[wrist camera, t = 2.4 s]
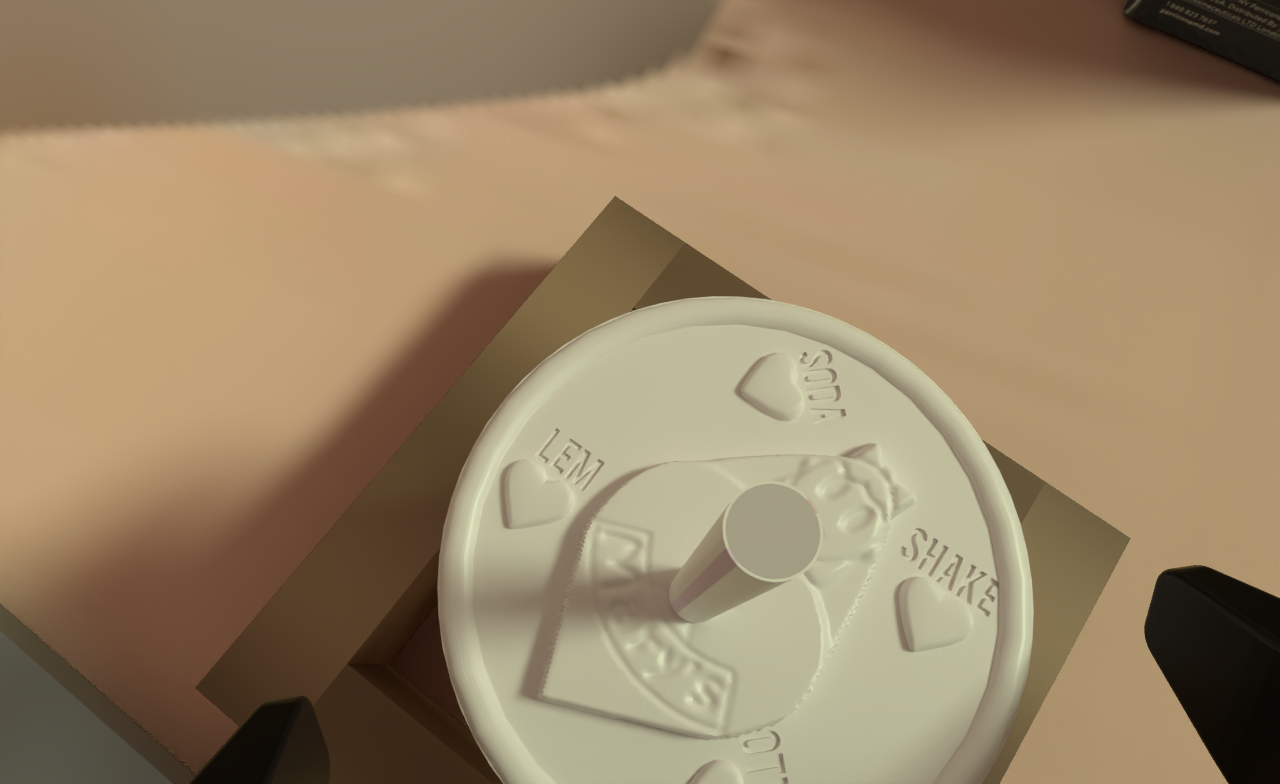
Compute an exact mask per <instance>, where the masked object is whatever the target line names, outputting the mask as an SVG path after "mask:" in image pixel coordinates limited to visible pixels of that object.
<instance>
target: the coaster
mask: <svg viewBox="0 0 1280 784" xmlns="http://www.w3.org/2000/svg"><path fill="white" fill-rule="evenodd" d="M194 777H195V775H194V774H193V773H192V772H191V771H190V770H189V769H188V768H186V767H185V766H184V765H183V764H182V763H181V762H180V761H178V760H177V759H176V758H175V757H174V756H173V755H172V754H170V753H169V752H168V751H167V750H166V749H165V748H164V747H163V746H161V745H160V744H159V743H158V742H157V741H156V740H155V739H153V738H152V737H151V736H150V735H149V734H148V733H147V732H145V731H144V730H143V729H142V728H141V727H140V726H139V725H137V724H136V723H135V722H134V721H133V720H132V719H131V718H130V717H128V716H127V715H126V714H125V713H124V712H123V711H122V710H120V709H119V708H118V707H117V706H116V705H115V704H114V703H112V702H111V701H110V700H109V699H108V698H107V697H106V696H104V695H103V694H102V693H101V692H100V691H99V690H98V689H97V688H95V687H94V686H93V685H92V684H91V683H90V682H89V681H87V680H86V679H85V678H84V677H83V676H82V675H81V674H79V673H78V672H77V671H76V670H75V669H74V668H73V667H71V666H70V665H69V664H68V663H67V662H66V661H65V660H64V659H62V658H61V657H60V656H59V655H58V654H57V653H56V652H54V651H53V650H52V649H51V648H50V647H49V646H48V645H46V644H45V643H44V642H43V641H42V640H41V639H40V638H39V637H37V636H36V635H35V634H34V633H33V632H32V631H31V630H29V629H28V628H27V627H26V626H25V625H24V624H23V623H21V622H20V621H19V620H18V619H17V618H16V617H15V616H13V615H12V614H11V613H10V612H9V611H8V610H7V609H6V608H4V607H3V606H2V605H1V604H0V784H188V783H189V782H190V781H191V780H192V779H193V778H194Z"/></svg>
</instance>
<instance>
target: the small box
mask: <svg viewBox="0 0 1280 784" xmlns="http://www.w3.org/2000/svg"><path fill="white" fill-rule="evenodd" d="M1124 12H1125V13H1126V14H1127V15H1128V16H1129V17H1130V18H1132V19H1135V20H1137V21H1139V22H1142V23H1144V24H1145V25H1150V26H1153V27H1154V28H1156V29H1160V30H1163V31H1165V32H1167V33H1169V34H1172V35H1174V36H1176V37H1179V38H1181V39H1183V40H1186V41H1188V42H1191V43H1193V44H1196V45H1199V46H1201V47H1203V48H1206V49H1208V50H1210V51H1212V52H1215V53H1217V54H1219V55H1221V56H1224V57H1226V58H1228V59H1231V60H1233V61H1236V62H1238V63H1240V64H1242V65H1244V66H1247V67H1249V68H1251V69H1254V70H1256V71H1258V72H1261V73H1263V74H1266V75H1267V76H1269V77H1271V78H1272V79H1274V80H1278V81H1280V0H1129V1H1128V2H1127V4H1126V6H1125V8H1124Z"/></svg>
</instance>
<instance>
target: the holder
mask: <svg viewBox="0 0 1280 784" xmlns="http://www.w3.org/2000/svg"><path fill="white" fill-rule="evenodd" d="M711 296H730V297H749V298H759V299H767V300H771V299H769V298H768V297H766V296H765V295H763V294H762V293H760V292H759V291H757V290H756V289H754V288H753V287H751V286H750V285H748V284H747V283H745V282H744V281H742V280H741V279H739V278H738V277H736V276H735V275H733V274H732V273H730V272H729V271H727V270H726V269H724V268H723V267H721V266H720V265H718V264H717V263H715V262H714V261H712V260H711V259H709V258H708V257H706V256H705V255H703V254H702V253H700V252H699V251H697V250H696V249H694V248H693V247H691V246H690V245H688V244H687V243H685V242H684V241H682V240H681V239H679V238H677V237H676V236H674V235H673V234H671V233H670V232H668V231H667V230H665V229H664V228H662V227H661V226H659V225H658V224H656V223H655V222H653V221H652V220H650V219H649V218H647V217H646V216H644V215H643V214H641V213H640V212H638V211H637V210H635V209H634V208H632V207H631V206H629V205H628V204H626V203H625V202H623V201H622V200H620V199H619V198H617V197H616V196H615V197H614V198H613V199H612V200H611V202H610V203H609V204H608V205H607V206H606V207H605V209H604V210H603V211H602V212H601V213H600V214H599V216H598V217H597V218H596V219H595V220H594V221H593V223H592V224H591V225H590V226H589V227H588V228H587V230H586V231H585V232H584V233H583V234H582V235H581V237H580V238H579V239H578V240H577V241H576V243H575V244H574V245H573V246H572V247H571V248H570V250H569V251H568V252H567V253H566V254H565V255H564V257H563V258H562V259H561V260H560V261H559V262H558V264H557V265H556V266H555V267H554V268H553V269H552V271H551V272H550V273H549V274H548V275H547V276H546V278H545V279H544V280H543V281H542V282H541V283H540V285H539V286H538V287H537V288H536V289H535V291H534V292H533V293H532V294H531V295H530V296H529V298H528V299H527V300H526V301H525V302H524V303H523V305H522V306H521V307H520V308H519V309H518V310H517V312H516V313H515V314H514V315H513V316H512V317H511V319H510V320H509V321H508V322H507V323H506V324H505V326H504V327H503V328H502V329H501V330H500V332H499V333H498V334H497V335H496V336H495V337H494V339H493V340H492V341H491V342H490V343H489V344H488V346H487V347H486V348H485V349H484V350H483V351H482V353H481V354H480V355H479V356H478V357H477V358H476V360H475V361H474V362H473V363H472V364H471V365H470V367H469V368H468V369H467V370H466V371H465V373H464V374H463V375H462V376H461V377H460V378H459V380H458V381H457V382H456V383H455V384H454V385H453V387H452V388H451V389H450V390H449V391H448V392H447V394H446V395H445V396H444V397H443V398H442V399H441V401H440V402H439V403H438V404H437V405H436V406H435V408H434V409H433V410H432V411H431V412H430V413H429V415H428V416H427V417H426V418H425V419H424V421H423V422H422V423H421V424H420V425H419V426H418V428H417V429H416V430H415V431H414V432H413V433H412V435H411V436H410V437H409V438H408V439H407V440H406V442H405V443H404V444H403V445H402V446H401V447H400V449H399V450H398V451H397V452H396V453H395V454H394V456H393V457H392V458H391V459H390V460H389V462H388V463H387V464H386V465H385V466H384V467H383V469H382V470H381V471H380V472H379V473H378V474H377V476H376V477H375V478H374V479H373V480H372V481H371V483H370V484H369V485H368V486H367V487H366V488H365V490H364V491H363V492H362V493H361V494H360V495H359V497H358V498H357V499H356V500H355V501H354V503H353V504H352V505H351V506H350V507H349V508H348V510H347V511H346V512H345V513H344V514H343V515H342V517H341V518H340V519H339V520H338V521H337V522H336V524H335V525H334V526H333V527H332V528H331V529H330V531H329V532H328V533H327V534H326V535H325V536H324V538H323V539H322V540H321V541H320V542H319V544H318V545H317V546H316V547H315V548H314V549H313V551H312V552H311V553H310V554H309V555H308V556H307V558H306V559H305V560H304V561H303V562H302V563H301V565H300V566H299V567H298V568H297V569H296V570H295V572H294V573H293V574H292V575H291V576H290V577H289V579H288V580H287V581H286V582H285V583H284V584H283V586H282V587H281V588H280V589H279V590H278V592H277V593H276V594H275V595H274V596H273V597H272V599H271V600H270V601H269V602H268V603H267V604H266V606H265V607H264V608H263V609H262V610H261V611H260V613H259V614H258V615H257V616H256V617H255V618H254V620H253V621H252V622H251V623H250V624H249V625H248V627H247V628H246V629H245V630H244V631H243V633H242V634H241V635H240V636H239V637H238V638H237V640H236V641H235V642H234V643H233V644H232V645H231V647H230V648H229V649H228V650H227V651H226V652H225V654H224V655H223V656H222V657H221V658H220V659H219V661H218V662H217V663H216V664H215V665H214V666H213V668H212V669H211V670H210V671H209V672H208V674H207V675H206V676H205V677H204V678H203V679H202V681H201V682H200V683H199V684H198V685H197V686H196V689H197V690H198V691H199V692H200V693H201V694H203V695H204V696H205V697H206V698H207V699H208V700H210V701H211V702H212V703H213V704H214V705H215V706H217V707H218V708H219V709H220V710H221V711H222V712H224V713H225V714H226V715H227V716H228V717H229V718H231V719H232V720H233V721H234V722H235V723H236V724H238V725H239V726H241V725H242V724H243V723H244V722H245V720H246V719H247V718H248V717H249V716H250V715H251V714H252V713H253V712H254V710H255V709H256V708H257V707H258V706H259V705H261V704H262V703H263V702H265V701H268V700H272V699H278V698H285V697H292V696H299V695H301V696H305V697H307V698H308V699H309V700H310V702H311V703H312V706H313V708H314V711H315V714H316V717H317V720H318V723H319V725H320V728H321V731H322V734H323V737H324V740H325V742H326V745H327V748H328V752H329V757H330V781H329V784H503V783H502V781H501V780H500V778H499V777H498V776H497V774H496V773H495V772H494V770H493V769H492V767H491V766H490V765H489V763H488V761H487V759H486V758H485V756H484V754H483V753H482V751H481V749H480V747H479V746H478V744H477V742H476V741H475V739H474V737H473V735H472V733H471V731H470V730H469V729H468V728H466V727H465V726H464V725H463V724H462V723H460V722H459V721H458V720H457V719H455V718H454V717H453V716H452V715H450V714H449V713H448V712H447V711H445V710H444V709H443V708H442V707H441V706H439V705H438V704H437V703H436V702H434V701H433V700H432V699H431V698H429V697H428V696H427V695H426V694H425V693H423V692H422V691H421V690H420V689H418V688H417V687H416V686H415V685H413V684H412V683H411V682H410V681H409V680H407V679H406V678H405V677H404V676H402V675H401V674H400V673H399V672H397V671H396V670H395V669H394V668H393V667H391V666H390V665H389V664H390V663H391V662H392V660H393V659H394V658H395V657H396V655H397V654H398V653H399V652H400V650H401V649H402V648H403V646H404V645H405V644H406V643H407V641H408V640H409V639H410V638H411V636H412V635H413V634H414V632H415V631H416V630H417V629H418V627H419V626H420V625H421V624H422V622H423V621H424V620H425V619H426V617H427V616H428V615H429V613H430V612H431V611H432V610H433V608H434V607H435V606H436V605H437V603H438V589H437V584H438V568H439V554H440V548H441V542H442V535H443V529H444V524H445V520H446V517H447V513H448V509H449V505H450V501H451V498H452V495H453V492H454V490H455V487H456V484H457V481H458V479H459V476H460V473H461V471H462V468H463V466H464V464H465V462H466V460H467V458H468V456H469V454H470V452H471V450H472V448H473V446H474V444H475V442H476V441H477V439H478V437H479V436H480V434H481V432H482V431H483V429H484V427H485V426H486V424H487V423H488V421H489V420H490V418H491V417H492V416H493V414H494V413H495V412H496V410H497V409H498V408H499V406H500V405H501V404H502V402H503V401H504V400H505V398H506V397H507V396H508V395H509V394H510V393H511V392H512V391H513V390H514V388H515V387H516V386H517V385H518V384H519V383H520V382H521V381H522V380H523V379H524V378H525V377H526V376H527V375H528V374H529V373H530V372H531V371H532V370H534V369H535V368H536V367H537V366H538V365H539V364H540V363H541V362H542V361H544V360H545V359H546V358H548V357H549V356H550V355H552V354H553V353H554V352H556V351H557V350H558V349H560V348H561V347H562V346H564V345H565V344H567V343H568V342H570V341H572V340H573V339H575V338H576V337H578V336H580V335H581V334H583V333H585V332H586V331H588V330H590V329H592V328H594V327H596V326H598V325H600V324H602V323H604V322H607V321H609V320H611V319H613V318H616V317H619V316H621V315H624V314H626V313H629V312H632V311H634V310H638V309H641V308H645V307H649V306H652V305H656V304H659V303H665V302H670V301H676V300H681V299H688V298H699V297H711ZM981 440H982V439H981ZM982 441H983V440H982ZM983 442H984V444H985V445H986V447H987V449H988V451H989V453H990V454H991V456H992V458H993V460H994V462H995V463H996V465H997V467H998V469H999V471H1000V473H1001V475H1002V477H1003V479H1004V482H1005V484H1006V486H1007V488H1008V491H1009V493H1010V495H1011V498H1012V500H1013V503H1014V506H1015V509H1016V512H1017V515H1018V518H1019V521H1020V524H1021V528H1022V532H1023V536H1024V540H1025V544H1026V548H1027V552H1028V559H1029V565H1030V572H1031V578H1032V591H1033V609H1034V614H1033V639H1032V648H1031V655H1030V662H1029V670H1028V674H1027V679H1026V683H1025V687H1024V691H1023V695H1022V699H1021V702H1020V705H1019V708H1018V711H1017V714H1016V717H1015V720H1014V722H1013V725H1012V728H1011V731H1010V733H1009V735H1008V737H1007V739H1006V741H1005V743H1004V745H1003V748H1002V750H1001V752H1000V754H999V756H998V758H997V760H996V761H995V763H994V765H993V766H992V768H991V770H990V771H989V773H988V774H987V776H986V778H985V779H984V781H983V783H982V784H1000V782H1001V780H1002V778H1003V776H1004V774H1005V772H1006V771H1007V769H1008V767H1009V765H1010V763H1011V761H1012V759H1013V758H1014V756H1015V754H1016V752H1017V750H1018V748H1019V746H1020V744H1021V743H1022V741H1023V739H1024V737H1025V735H1026V733H1027V731H1028V729H1029V728H1030V726H1031V724H1032V722H1033V720H1034V718H1035V716H1036V714H1037V713H1038V711H1039V709H1040V707H1041V705H1042V703H1043V701H1044V699H1045V698H1046V696H1047V694H1048V692H1049V690H1050V688H1051V686H1052V684H1053V683H1054V681H1055V679H1056V677H1057V675H1058V673H1059V671H1060V669H1061V668H1062V666H1063V664H1064V662H1065V660H1066V658H1067V656H1068V654H1069V653H1070V651H1071V649H1072V647H1073V645H1074V643H1075V641H1076V639H1077V638H1078V636H1079V634H1080V632H1081V630H1082V628H1083V626H1084V625H1085V623H1086V621H1087V619H1088V617H1089V615H1090V613H1091V611H1092V610H1093V608H1094V606H1095V604H1096V602H1097V600H1098V598H1099V596H1100V595H1101V593H1102V591H1103V589H1104V587H1105V585H1106V583H1107V581H1108V580H1109V578H1110V576H1111V574H1112V572H1113V570H1114V568H1115V566H1116V565H1117V563H1118V561H1119V559H1120V557H1121V555H1122V553H1123V551H1124V550H1125V548H1126V546H1127V544H1128V542H1129V540H1130V538H1129V537H1128V536H1126V535H1125V534H1123V533H1122V532H1120V531H1119V530H1117V529H1116V528H1114V527H1113V526H1111V525H1110V524H1108V523H1107V522H1105V521H1104V520H1102V519H1101V518H1099V517H1098V516H1096V515H1094V514H1093V513H1091V512H1090V511H1088V510H1087V509H1085V508H1084V507H1082V506H1081V505H1079V504H1078V503H1076V502H1075V501H1073V500H1072V499H1070V498H1069V497H1067V496H1066V495H1064V494H1063V493H1061V492H1060V491H1058V490H1057V489H1055V488H1054V487H1052V486H1051V485H1049V484H1048V483H1046V482H1045V481H1043V480H1042V479H1040V478H1039V477H1037V476H1036V475H1034V474H1033V473H1031V472H1030V471H1028V470H1027V469H1025V468H1024V467H1022V466H1021V465H1019V464H1018V463H1016V462H1015V461H1013V460H1012V459H1010V458H1009V457H1007V456H1006V455H1004V454H1003V453H1001V452H1000V451H998V450H997V449H995V448H994V447H992V446H991V445H989V444H988V443H986V442H985V441H983Z"/></svg>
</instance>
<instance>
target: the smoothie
mask: <svg viewBox="0 0 1280 784" xmlns="http://www.w3.org/2000/svg"><path fill="white" fill-rule="evenodd" d="M437 589H438V617H439V624H440V632H441V639H442V646H443V651H444V655H445V659H446V664H447V668H448V672H449V677H450V680H451V683H452V686H453V689H454V692H455V694H456V697H457V700H458V703H459V706H460V709H461V711H462V713H463V715H464V717H465V720H466V722H467V724H468V726H469V728H470V731H471V733H472V735H473V737H474V739H475V741H476V742H477V744H478V746H479V747H480V749H481V751H482V753H483V754H484V756H485V758H486V759H487V761H488V763H489V765H490V766H491V767H492V769H493V770H494V772H495V773H496V774H497V776H498V777H499V778H500V780H501V781H502V783H503V784H982V783H983V781H984V779H985V778H986V776H987V774H988V773H989V771H990V770H991V768H992V766H993V765H994V763H995V761H996V760H997V758H998V756H999V754H1000V752H1001V750H1002V748H1003V745H1004V743H1005V741H1006V739H1007V737H1008V735H1009V733H1010V731H1011V728H1012V725H1013V722H1014V720H1015V717H1016V714H1017V711H1018V708H1019V705H1020V702H1021V699H1022V695H1023V691H1024V687H1025V683H1026V679H1027V674H1028V670H1029V662H1030V655H1031V648H1032V639H1033V614H1034V609H1033V591H1032V578H1031V572H1030V565H1029V559H1028V552H1027V548H1026V544H1025V540H1024V536H1023V532H1022V528H1021V524H1020V521H1019V518H1018V515H1017V512H1016V509H1015V506H1014V503H1013V500H1012V498H1011V495H1010V493H1009V491H1008V488H1007V486H1006V484H1005V482H1004V479H1003V477H1002V475H1001V473H1000V471H999V469H998V467H997V465H996V463H995V462H994V460H993V458H992V456H991V454H990V453H989V451H988V449H987V447H986V445H985V444H984V442H983V441H982V440H981V438H980V437H979V435H978V434H977V432H976V431H975V429H974V428H973V426H972V425H971V423H970V422H969V421H968V419H967V418H966V417H965V416H964V415H963V413H962V412H961V411H960V410H959V408H958V407H957V406H956V405H955V404H954V402H953V401H952V400H951V399H950V398H949V397H948V396H947V395H946V394H945V393H944V392H943V391H942V390H941V389H940V388H939V387H938V386H937V385H936V384H935V383H934V382H933V380H931V379H930V378H929V377H928V376H927V375H926V374H924V373H923V372H922V371H921V370H920V369H919V368H917V367H916V366H915V365H914V364H913V363H912V362H910V361H909V360H908V359H906V358H905V357H903V356H902V355H901V354H899V353H898V352H896V351H895V350H894V349H892V348H891V347H890V346H888V345H886V344H885V343H883V342H881V341H880V340H878V339H876V338H874V337H873V336H871V335H869V334H868V333H866V332H864V331H862V330H860V329H858V328H856V327H854V326H852V325H850V324H847V323H845V322H843V321H841V320H839V319H836V318H833V317H831V316H828V315H825V314H823V313H820V312H817V311H814V310H811V309H807V308H804V307H800V306H796V305H793V304H789V303H783V302H778V301H773V300H767V299H759V298H749V297H730V296H711V297H699V298H688V299H681V300H676V301H670V302H665V303H659V304H656V305H652V306H649V307H645V308H641V309H638V310H634V311H632V312H629V313H626V314H624V315H621V316H619V317H616V318H613V319H611V320H609V321H607V322H604V323H602V324H600V325H598V326H596V327H594V328H592V329H590V330H588V331H586V332H585V333H583V334H581V335H580V336H578V337H576V338H575V339H573V340H572V341H570V342H568V343H567V344H565V345H564V346H562V347H561V348H560V349H558V350H557V351H556V352H554V353H553V354H552V355H550V356H549V357H548V358H546V359H545V360H544V361H542V362H541V363H540V364H539V365H538V366H537V367H536V368H535V369H534V370H532V371H531V372H530V373H529V374H528V375H527V376H526V377H525V378H524V379H523V380H522V381H521V382H520V383H519V384H518V385H517V386H516V387H515V388H514V390H513V391H512V392H511V393H510V394H509V395H508V396H507V397H506V398H505V400H504V401H503V402H502V404H501V405H500V406H499V408H498V409H497V410H496V412H495V413H494V414H493V416H492V417H491V418H490V420H489V421H488V423H487V424H486V426H485V427H484V429H483V431H482V432H481V434H480V436H479V437H478V439H477V441H476V442H475V444H474V446H473V448H472V450H471V452H470V454H469V456H468V458H467V460H466V462H465V464H464V466H463V468H462V471H461V473H460V476H459V479H458V481H457V484H456V487H455V490H454V492H453V495H452V498H451V501H450V505H449V509H448V513H447V517H446V520H445V524H444V529H443V535H442V542H441V548H440V554H439V568H438V584H437Z"/></svg>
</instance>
